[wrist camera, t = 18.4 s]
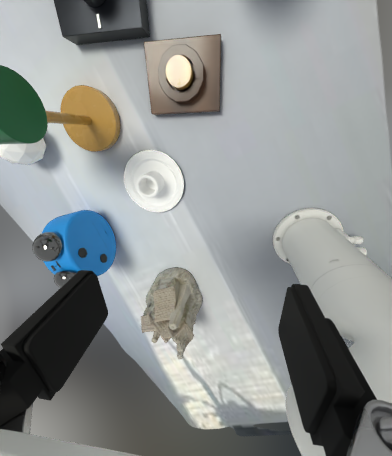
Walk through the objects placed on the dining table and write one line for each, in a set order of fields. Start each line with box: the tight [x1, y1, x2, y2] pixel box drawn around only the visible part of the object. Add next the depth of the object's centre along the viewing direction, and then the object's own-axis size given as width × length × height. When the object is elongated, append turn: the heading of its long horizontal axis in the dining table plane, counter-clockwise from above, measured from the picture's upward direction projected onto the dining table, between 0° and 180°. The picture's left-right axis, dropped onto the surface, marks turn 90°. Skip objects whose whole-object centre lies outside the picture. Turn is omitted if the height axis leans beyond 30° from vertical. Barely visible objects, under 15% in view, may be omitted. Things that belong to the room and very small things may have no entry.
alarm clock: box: [33, 210, 116, 288], centre depth 39 cm, size 13×6×15 cm, turn 16°
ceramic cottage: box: [141, 267, 202, 359], centre depth 45 cm, size 16×16×15 cm
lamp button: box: [166, 55, 193, 90], centre depth 27 cm, size 4×4×2 cm
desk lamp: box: [0, 65, 120, 151], centre depth 26 cm, size 10×10×22 cm
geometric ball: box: [0, 138, 46, 165], centre depth 35 cm, size 8×8×8 cm
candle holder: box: [124, 150, 184, 212], centre depth 37 cm, size 12×12×4 cm
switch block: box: [144, 34, 221, 115], centre depth 29 cm, size 11×9×4 cm
